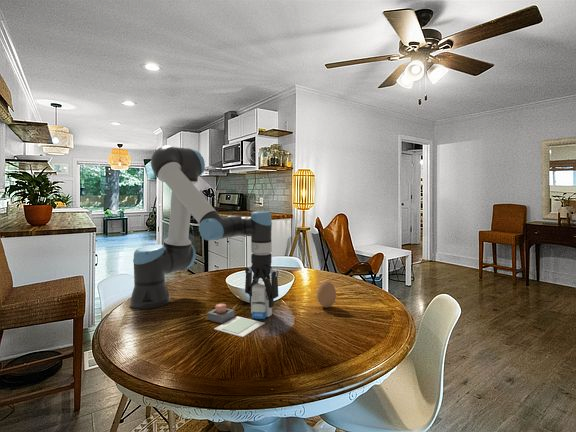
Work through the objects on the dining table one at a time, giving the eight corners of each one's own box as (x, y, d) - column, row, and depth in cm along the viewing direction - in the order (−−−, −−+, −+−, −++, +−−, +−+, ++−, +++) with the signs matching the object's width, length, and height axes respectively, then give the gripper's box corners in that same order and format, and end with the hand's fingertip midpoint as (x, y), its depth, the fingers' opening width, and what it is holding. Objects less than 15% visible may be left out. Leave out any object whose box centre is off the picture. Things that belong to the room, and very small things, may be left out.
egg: (322, 311, 128) (322, 284, 127) (313, 305, 135) (314, 279, 134) (339, 309, 130) (339, 282, 130) (330, 303, 137) (330, 277, 137)
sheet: (214, 329, 111) (214, 327, 111) (237, 317, 122) (237, 315, 122) (242, 337, 105) (242, 335, 105) (264, 323, 116) (264, 322, 116)
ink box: (264, 319, 119) (264, 288, 118) (251, 318, 120) (251, 287, 119) (270, 311, 128) (270, 281, 127) (258, 310, 129) (258, 280, 128)
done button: (213, 312, 120) (213, 306, 119) (220, 309, 123) (220, 302, 123) (221, 314, 118) (221, 307, 118) (228, 311, 121) (228, 304, 121)
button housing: (207, 319, 119) (207, 312, 119) (220, 313, 125) (219, 306, 125) (222, 323, 116) (222, 316, 116) (234, 316, 122) (234, 310, 122)
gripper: (234, 252, 123) (235, 312, 125) (278, 257, 114) (278, 322, 116) (246, 249, 130) (246, 306, 132) (288, 254, 121) (288, 315, 122)
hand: (261, 313), depth 124 cm, fingers closed on ink box, 6 cm apart
